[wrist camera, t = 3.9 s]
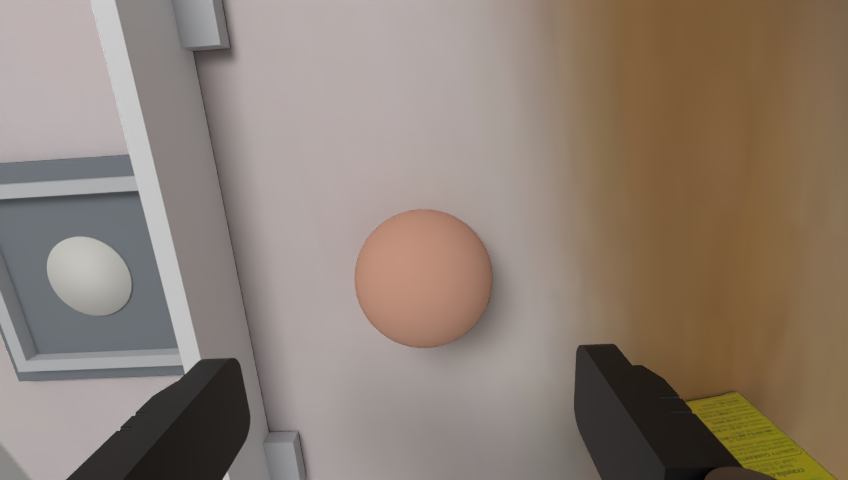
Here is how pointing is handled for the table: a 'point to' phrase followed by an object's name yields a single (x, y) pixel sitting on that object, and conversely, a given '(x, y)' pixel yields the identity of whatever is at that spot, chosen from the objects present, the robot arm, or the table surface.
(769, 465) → the crayon box
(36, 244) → the slate mat
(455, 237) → the rubber ball
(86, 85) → the table surface
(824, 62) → the table surface
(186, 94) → the low wall
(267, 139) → the table surface
